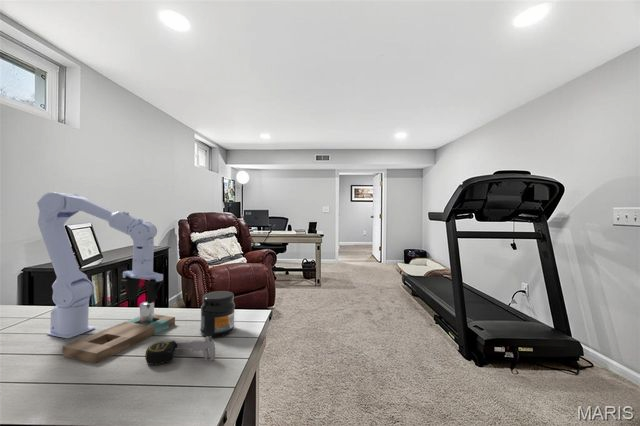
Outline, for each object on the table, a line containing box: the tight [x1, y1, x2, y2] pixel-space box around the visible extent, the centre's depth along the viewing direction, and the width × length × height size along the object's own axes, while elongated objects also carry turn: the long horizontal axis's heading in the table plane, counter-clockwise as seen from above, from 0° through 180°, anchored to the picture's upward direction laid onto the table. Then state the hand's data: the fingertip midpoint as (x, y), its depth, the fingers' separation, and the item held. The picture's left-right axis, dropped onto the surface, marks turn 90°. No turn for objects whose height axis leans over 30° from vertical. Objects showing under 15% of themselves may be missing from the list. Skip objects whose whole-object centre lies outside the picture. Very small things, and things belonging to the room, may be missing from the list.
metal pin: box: [139, 301, 155, 325], centre depth 92 cm, size 4×4×8 cm
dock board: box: [62, 313, 176, 364], centre depth 85 cm, size 12×26×2 cm, turn 164°
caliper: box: [161, 336, 216, 362], centre depth 78 cm, size 21×1×6 cm, turn 69°
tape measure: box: [144, 340, 178, 365], centre depth 74 cm, size 7×7×4 cm
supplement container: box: [200, 290, 236, 338], centre depth 92 cm, size 10×10×12 cm
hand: (141, 301), depth 92 cm, fingers open, 7 cm apart
